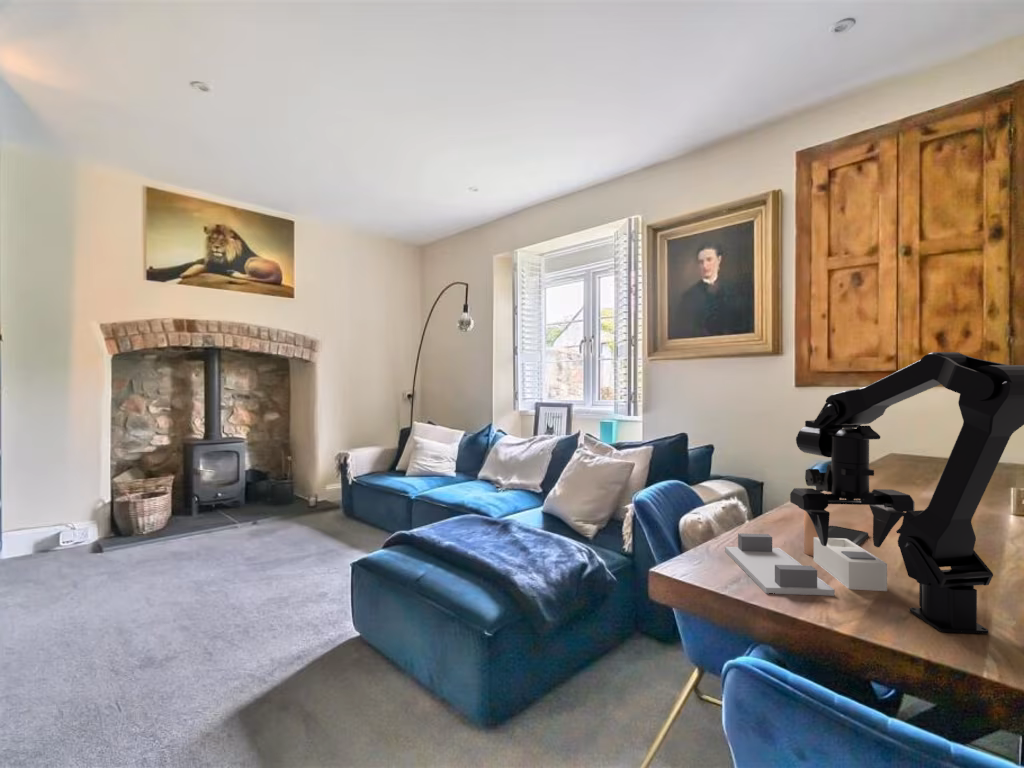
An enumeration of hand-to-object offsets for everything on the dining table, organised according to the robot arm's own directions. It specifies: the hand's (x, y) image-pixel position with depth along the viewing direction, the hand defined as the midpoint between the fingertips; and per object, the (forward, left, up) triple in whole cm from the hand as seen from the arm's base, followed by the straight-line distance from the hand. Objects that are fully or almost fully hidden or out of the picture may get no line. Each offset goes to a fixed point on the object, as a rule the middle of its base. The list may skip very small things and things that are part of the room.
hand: (850, 546), depth 89 cm
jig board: (+1, +13, -5) cm, 14 cm away
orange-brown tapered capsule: (+11, +1, -6) cm, 12 cm away
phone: (+21, -10, -6) cm, 24 cm away
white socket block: (0, 0, -6) cm, 6 cm away
